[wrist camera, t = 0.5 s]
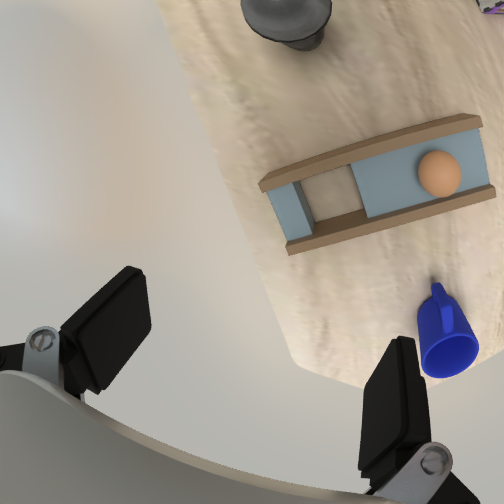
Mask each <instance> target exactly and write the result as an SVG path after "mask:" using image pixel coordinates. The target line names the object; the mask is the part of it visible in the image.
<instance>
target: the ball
mask: <svg viewBox="0 0 504 504" xmlns="http://www.w3.org/2000/svg"><path fill="white" fill-rule="evenodd" d="M418 176H419V180H420V183H421V185H422V186H423V188H424V189H425V190H426V191H427V192H428V193H430V194H431V195H433V196H436V197H447V196H450V195H452V194H453V193H454V192H455V191H456V190H457V189H458V187H459V185H460V183H461V177H462V174H461V169H460V166H459V164H458V162H457V160H456V159H455V158H454V157H453V156H452V155H451V154H449V153H447V152H445V151H441V150H435V151H431V152H429V153H427V154H426V155H425V156H424V157H423V158H422V160H421V161H420V164H419V168H418Z"/></svg>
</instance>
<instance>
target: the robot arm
mask: <svg viewBox="0 0 504 504" xmlns="http://www.w3.org/2000/svg"><path fill="white" fill-rule="evenodd" d="M60 328H61V330H60V331H59V332H57V331H56V330H55V329H54V328H52V327H49V326H44V327H39V328H37V329H35V330H33V331H32V332H31V333H30V334H29V335H28V337H27V339H26V343H21V344H15V345H9V346H2V347H0V504H480V501H479V500H478V498H477V497H476V496H475V495H474V494H473V493H472V492H471V491H470V490H469V489H468V488H467V487H466V486H465V485H464V484H463V483H462V482H461V481H460V480H459V479H458V478H457V477H456V476H455V475H454V474H453V473H452V472H451V469H452V465H453V459H452V455H451V453H450V451H449V449H448V448H447V447H446V446H444V445H443V444H441V443H438V442H432V441H431V427H430V417H429V406H428V398H427V390H426V383H425V379H424V377H422V376H421V375H420V368H419V362H418V355H417V349H416V344H415V340H414V338H410V337H405V336H398V337H397V339H392V340H391V342H390V344H389V346H388V348H387V349H386V351H385V353H384V355H383V356H382V358H381V360H380V362H379V363H378V365H377V367H376V368H375V370H374V372H373V373H372V375H371V377H370V378H369V380H368V382H367V383H366V385H365V388H364V395H363V414H362V429H361V441H360V452H359V461H358V470H360V471H362V472H361V478H369V479H370V486H371V487H370V488H369V489H368V490H367V491H365V492H364V493H363V494H357V493H351V492H342V491H334V490H328V489H321V488H315V487H309V486H304V485H299V484H293V483H288V482H284V481H279V480H274V479H271V478H266V477H262V476H258V475H255V474H251V473H247V472H243V471H240V470H237V469H233V468H230V467H227V466H224V465H221V464H218V463H214V462H211V461H209V460H206V459H203V458H200V457H197V456H194V455H192V454H189V453H187V452H184V451H182V450H179V449H176V448H174V447H172V446H169V445H167V444H165V443H162V442H160V441H158V440H155V439H153V438H151V437H148V436H146V435H144V434H142V433H140V432H138V431H136V430H134V429H132V428H130V427H128V426H126V425H124V424H122V423H120V422H118V421H116V420H114V419H112V418H110V417H109V416H107V415H105V414H103V413H101V412H100V411H98V410H96V409H94V408H93V407H91V406H89V405H87V404H86V403H85V399H84V392H85V391H86V389H88V390H90V391H92V392H93V393H95V394H97V395H98V394H99V393H100V392H101V390H105V389H106V388H107V387H108V386H109V385H110V383H111V382H112V381H113V379H114V378H115V377H116V375H117V374H118V373H119V371H120V370H121V369H122V368H123V366H124V365H125V364H126V362H127V361H128V360H129V358H130V357H131V356H132V354H133V353H134V352H135V351H136V349H137V348H138V346H139V345H140V344H141V343H142V342H143V340H144V339H145V338H146V336H147V335H148V334H149V332H150V330H151V317H150V310H149V302H148V294H147V285H146V277H145V275H144V274H143V272H142V270H141V269H138V268H135V267H132V266H126V267H125V268H124V269H122V270H121V271H120V272H119V273H118V274H117V275H116V276H115V277H113V278H112V279H111V280H110V281H109V282H108V283H107V284H106V285H104V286H103V287H102V288H101V289H100V290H99V291H98V292H97V293H96V294H95V295H93V296H92V297H91V298H90V299H89V300H88V301H87V302H86V303H85V304H84V305H83V306H82V307H81V308H80V309H78V310H77V311H76V312H75V313H74V314H73V315H72V316H71V317H70V318H69V319H68V320H67V321H66V322H65V323H64V324H63V325H62V326H61V327H60Z"/></svg>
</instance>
